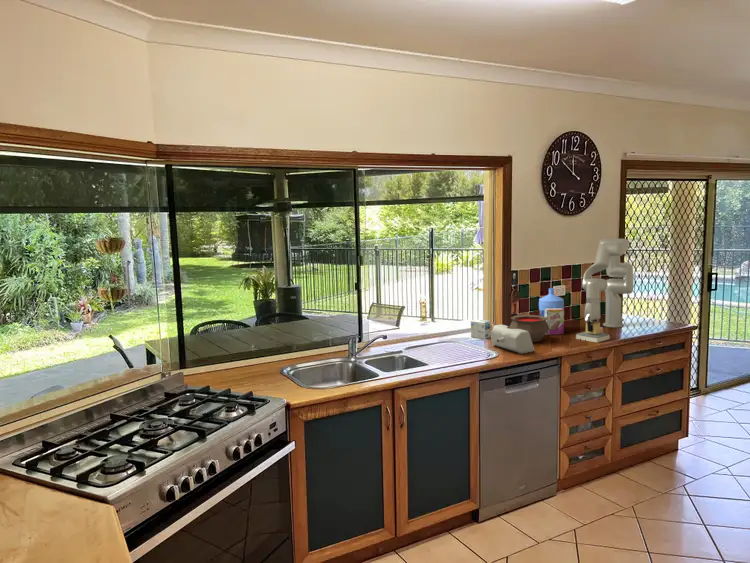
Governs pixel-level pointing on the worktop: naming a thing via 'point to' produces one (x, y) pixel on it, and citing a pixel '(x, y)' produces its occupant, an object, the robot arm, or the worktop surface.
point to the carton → (594, 327)
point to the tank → (512, 339)
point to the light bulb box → (480, 329)
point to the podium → (593, 337)
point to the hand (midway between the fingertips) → (592, 330)
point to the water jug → (550, 302)
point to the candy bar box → (555, 321)
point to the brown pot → (531, 325)
